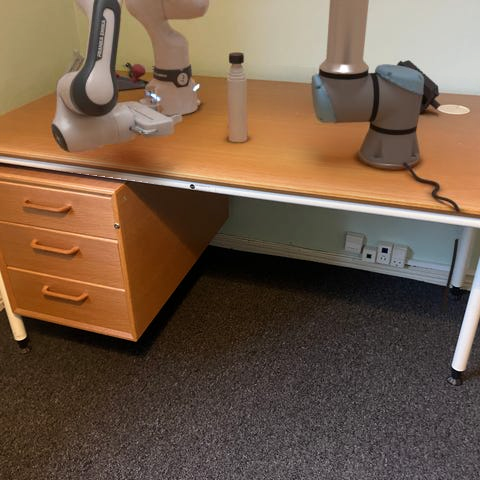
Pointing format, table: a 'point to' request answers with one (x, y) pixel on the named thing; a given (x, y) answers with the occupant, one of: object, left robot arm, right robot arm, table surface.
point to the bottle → (237, 103)
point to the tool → (425, 88)
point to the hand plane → (121, 81)
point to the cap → (236, 58)
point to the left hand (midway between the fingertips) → (171, 112)
